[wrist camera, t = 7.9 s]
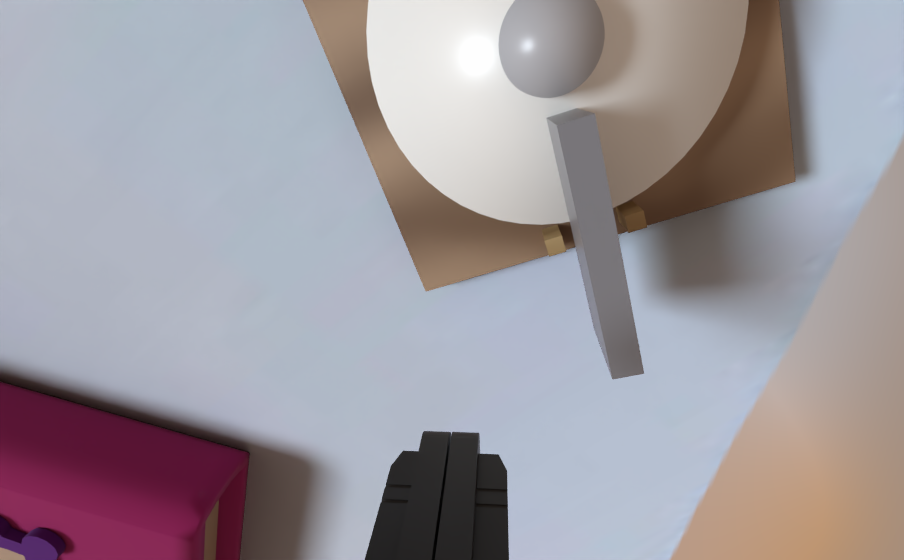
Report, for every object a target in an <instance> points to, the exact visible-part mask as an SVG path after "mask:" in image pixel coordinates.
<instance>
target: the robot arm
mask: <svg viewBox="0 0 904 560" xmlns="http://www.w3.org/2000/svg"><path fill="white" fill-rule="evenodd" d="M365 560H509V548H508V500H507V470H506V468H505V466H504V464H503V462H502V460H501V458H500V457H499V455H496V454H480V440H479V433H466V432H452V436H451V432H434V431H424V432H423V434H422V439H421V443H420V448H419V452H418V451H403V452H402V453H401V454H400V455H399V457H398V458H397V459H396V460H395V462H394V463H393V464H392V465H391V468H390V472H389V475H388V479H387V482H386V487H385V489H384V493H383V497H382V503H381V504H380V507H379V511H378V514H377V518H376V522H375V525H374V529H373V532H372V536H371V539H370V543H369V547H368V550H367V554H366V557H365Z"/></svg>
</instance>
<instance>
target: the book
mask: <svg viewBox="0 0 904 560" xmlns="http://www.w3.org/2000/svg"><path fill="white" fill-rule="evenodd" d="M248 465H249V453H248V452H245V451H241V450H238V449H234V448H231V447H227V446H224V445H220V444H217V443H213V442H210V441H206V440H203V439H199V438H196V437H192V436H189V435H185V434H182V433H178V432H175V431H171V430H168V429H164V428H161V427H157V426H154V425H150V424H147V423H143V422H140V421H136V420H133V419H129V418H126V417H122V416H119V415H115V414H112V413H108V412H105V411H101V410H98V409H94V408H91V407H87V406H84V405H80V404H77V403H73V402H70V401H66V400H63V399H59V398H56V397H52V396H49V395H45V394H42V393H38V392H35V391H31V390H28V389H24V388H21V387H17V386H14V385H10V384H7V383H3V382H0V560H240V549H241V538H242V528H243V517H244V507H245V496H246V486H247V475H248Z"/></svg>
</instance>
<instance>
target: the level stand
mask: <svg viewBox="0 0 904 560" xmlns="http://www.w3.org/2000/svg"><path fill="white" fill-rule="evenodd" d="M368 1H369V0H303V2H304V4H305V7H306V9H307V11H308V14H309V16H310V18H311V21H312V23H313V25H314V28H315V30H316V33H317V35H318V37H319V40H320V42H321V44H322V47H323V49H324V52H325V54H326V56H327V59H328V61H329V63H330V66H331V68H332V70H333V73H334V75H335V78H336V80H337V82H338V85H339V87H340V89H341V92H342V94H343V96H344V99H345V101H346V104H347V106H348V108H349V111H350V113H351V115H352V118H353V120H354V123H355V125H356V127H357V130H358V132H359V134H360V137H361V139H362V141H363V144H364V146H365V149H366V151H367V153H368V156H369V158H370V160H371V163H372V165H373V167H374V170H375V172H376V175H377V177H378V179H379V182H380V184H381V186H382V189H383V191H384V194H385V196H386V198H387V201H388V203H389V205H390V208H391V210H392V212H393V215H394V217H395V220H396V222H397V224H398V227H399V229H400V231H401V234H402V236H403V238H404V241H405V243H406V246H407V248H408V250H409V253H410V255H411V257H412V260H413V262H414V265H415V267H416V269H417V272H418V274H419V276H420V279H421V281H422V283H423V286H424V288H425V291H429V290H433V289H436V288H439V287H443V286H446V285H449V284H453V283H456V282H459V281H463V280H466V279H470V278H473V277H476V276H480V275H483V274H486V273H490V272H493V271H496V270H500V269H503V268H506V267H510V266H513V265H517V264H520V263H523V262H527V261H530V260H533V259H537V258H540V257H543V256H547V255H549V256H552V255H556V254H559V253H562V252H566V250H567V249H570V248H574V247H575V242H574V238H573V233H572V229H571V225H570V222H565V223H557V224H544V225H537V224H519V223H513V222H508V221H502V220H498V219H495V218H491V217H488V216H485V215H482V214H479V213H477V212H475V211H472V210H470V209H468V208H466V207H464V206H462V205H460V204H458V203H457V202H455V201H453V200H452V199H450V198H449V197H447V196H445V195H444V194H443V193H441V192H440V191H439V190H438V189H436V188H435V187H434V186H433V185H432V184H430V183H429V182H428V181H427V180H426V179H425V178H424V177H423V176H422V175H421V174H420V173H419V172H418V171H417V170H416V169H415V168H414V167H413V166H412V164H411V163H410V162H409V160H408V159H407V157H406V156H405V155H404V153H403V152H402V151H401V149H400V148H399V146H398V145H397V143H396V141H395V139H394V138H393V136H392V134H391V132H390V131H389V129H388V127H387V124H386V122H385V120H384V117H383V115H382V113H381V110H380V108H379V105H378V102H377V98H376V95H375V91H374V88H373V84H372V80H371V74H370V68H369V62H368V53H367V34H366V28H367V11H368ZM792 182H795V170H794V159H793V148H792V138H791V127H790V116H789V105H788V94H787V83H786V72H785V61H784V50H783V39H782V29H781V18H780V7H779V0H749V5H748V13H747V21H746V29H745V35H744V39H743V43H742V47H741V52H740V56H739V60H738V63H737V66H736V68H735V71H734V74H733V77H732V79H731V82H730V85H729V87H728V90H727V92H726V94H725V96H724V98H723V100H722V102H721V104H720V106H719V107H718V109H717V111H716V113H715V115H714V117H713V118H712V120H711V121H710V123H709V124H708V126H707V127H706V129H705V130H704V132H703V133H702V135H701V136H700V138H699V139H698V140H697V141H696V143H695V144H694V145H693V146H692V147H691V149H690V150H689V151H688V152H687V153H686V155H685V156H684V157H683V158H682V159H681V160H680V161H679V162H678V163H677V164H676V165H675V166H674V167H673V168H672V169H671V170H670V171H669V172H668V173H667V174H666V175H664V176H663V177H662V178H660V179H659V180H658V181H657V182H655V183H654V184H653V185H651V186H650V187H649V188H648V189H646V190H645V191H643V192H641V193H640V194H638V195H637V196H635V197H633V198H632V199H630V200H628V201H627V202H625V203H623V204H621V205H618V206H616V207H614V208H613V212H614V217H615V222H616V228H617V233H618V234H621V233H624V232H627V231H628V233H630V232H633V231H636V230H640V229H643V228H647V225H651V224H654V223H658V222H661V221H664V220H668V219H671V218H674V217H678V216H681V215H684V214H688V213H691V212H695V211H698V210H701V209H705V208H708V207H711V206H715V205H718V204H721V203H725V202H728V201H731V200H735V199H738V198H742V197H745V196H748V195H752V194H755V193H758V192H762V191H765V190H768V189H772V188H775V187H778V186H782V185H785V184H789V183H792Z"/></svg>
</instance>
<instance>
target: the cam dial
mask: <svg viewBox="0 0 904 560" xmlns="http://www.w3.org/2000/svg"><path fill="white" fill-rule="evenodd" d="M748 5H749V0H369V1H368V11H367V28H366V34H367V53H368V62H369V68H370V74H371V80H372V84H373V88H374V91H375V95H376V98H377V102H378V105H379V108H380V110H381V113H382V115H383V117H384V120H385V122H386V124H387V127H388V129H389V131H390V132H391V134H392V136H393V138H394V139H395V141H396V143H397V145H398V146H399V148H400V149H401V151H402V152H403V153H404V155H405V156H406V157H407V159H408V160H409V162H410V163H411V164H412V166H413V167H414V168H415V169H416V170H417V171H418V172H419V173H420V174H421V175H422V176H423V177H424V178H425V179H426V180H427V181H428V182H429V183H430V184H432V185H433V186H434V187H435V188H436V189H438V190H439V191H440V192H441V193H443V194H444V195H445V196H447V197H449V198H450V199H452V200H453V201H455V202H457V203H458V204H460V205H462V206H464V207H466V208H468V209H470V210H472V211H475V212H477V213H479V214H482V215H485V216H488V217H491V218H495V219H498V220H502V221H508V222H513V223H519V224H537V225H544V224H557V223H565V222H570V225H571V229H572V233H573V238H574V242H575V247H576V251H577V256H578V260H579V264H580V269H581V273H582V278H583V282H584V286H585V291H586V295H587V300H588V304H589V309H590V313H591V317H592V322H593V326H594V330H595V333H596V336H597V338H598V341H599V344H600V347H601V349H602V352H603V355H604V357H605V360H606V363H607V366H608V368H609V371H610V374H611V376H612V379H617V378H623V377H628V376H633V375H639V374H644V371H643V365H642V360H641V355H640V350H639V344H638V339H637V334H636V328H635V323H634V318H633V312H632V307H631V302H630V297H629V291H628V286H627V281H626V275H625V270H624V265H623V259H622V254H621V249H620V244H619V238H618V233H617V228H616V222H615V217H614V212H613V208H614V207H616V206H618V205H621V204H623V203H625V202H627V201H628V200H630V199H632V198H633V197H635V196H637V195H638V194H640V193H641V192H643V191H645V190H646V189H648V188H649V187H650V186H651V185H653V184H654V183H655V182H657V181H658V180H659V179H660V178H662V177H663V176H664V175H666V174H667V173H668V172H669V171H670V170H671V169H672V168H673V167H674V166H675V165H676V164H677V163H678V162H679V161H680V160H681V159H682V158H683V157H684V156H685V155H686V153H687V152H688V151H689V150H690V149H691V147H692V146H693V145H694V144H695V143H696V141H697V140H698V139H699V138H700V136H701V135H702V133H703V132H704V130H705V129H706V127H707V126H708V124H709V123H710V121H711V120H712V118H713V117H714V115H715V113H716V111H717V109H718V107H719V106H720V104H721V102H722V100H723V98H724V96H725V94H726V92H727V90H728V87H729V85H730V82H731V79H732V77H733V74H734V71H735V68H736V66H737V63H738V60H739V56H740V52H741V47H742V43H743V39H744V35H745V29H746V21H747V13H748Z"/></svg>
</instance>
